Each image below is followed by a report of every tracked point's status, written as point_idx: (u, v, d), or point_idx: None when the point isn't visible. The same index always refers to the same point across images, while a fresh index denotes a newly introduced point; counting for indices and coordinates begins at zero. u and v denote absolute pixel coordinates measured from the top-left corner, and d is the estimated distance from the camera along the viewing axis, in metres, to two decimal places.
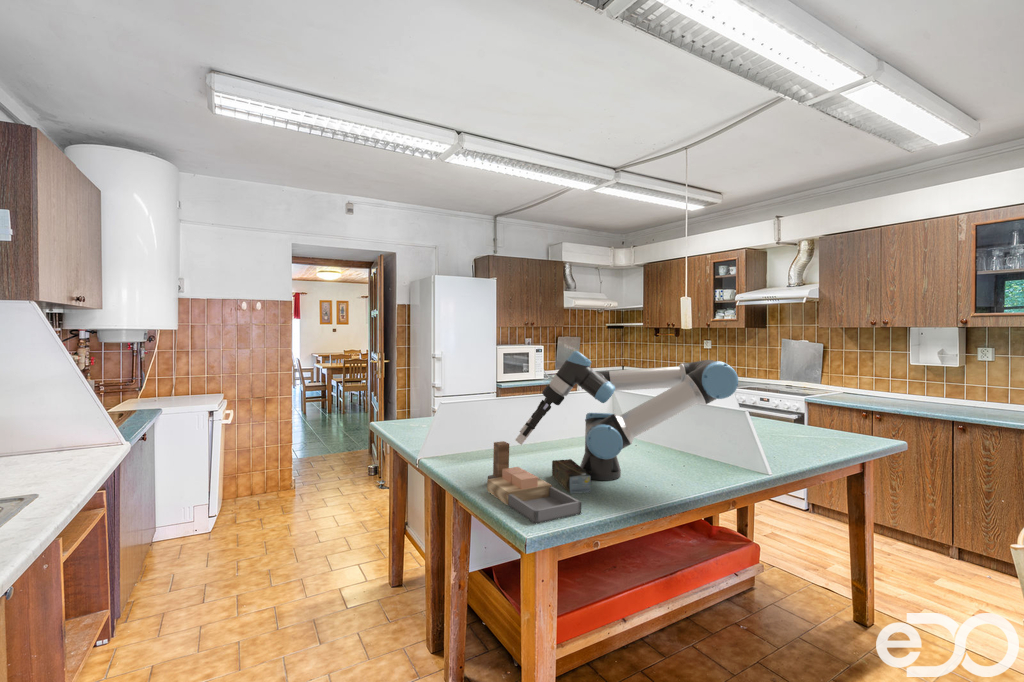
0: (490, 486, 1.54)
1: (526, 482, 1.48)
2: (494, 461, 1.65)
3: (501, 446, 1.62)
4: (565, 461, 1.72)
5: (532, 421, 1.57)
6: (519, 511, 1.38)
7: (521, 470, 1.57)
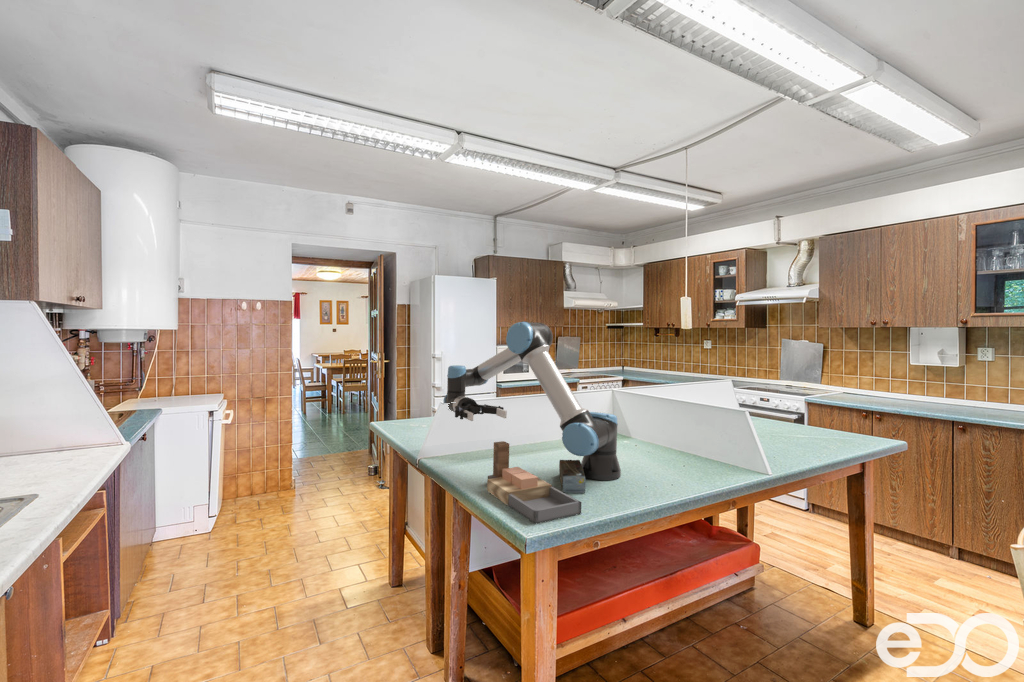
0: (490, 486, 1.54)
1: (526, 482, 1.48)
2: (494, 461, 1.65)
3: (501, 446, 1.62)
4: (571, 461, 1.72)
5: None
6: (519, 511, 1.38)
7: (521, 470, 1.57)
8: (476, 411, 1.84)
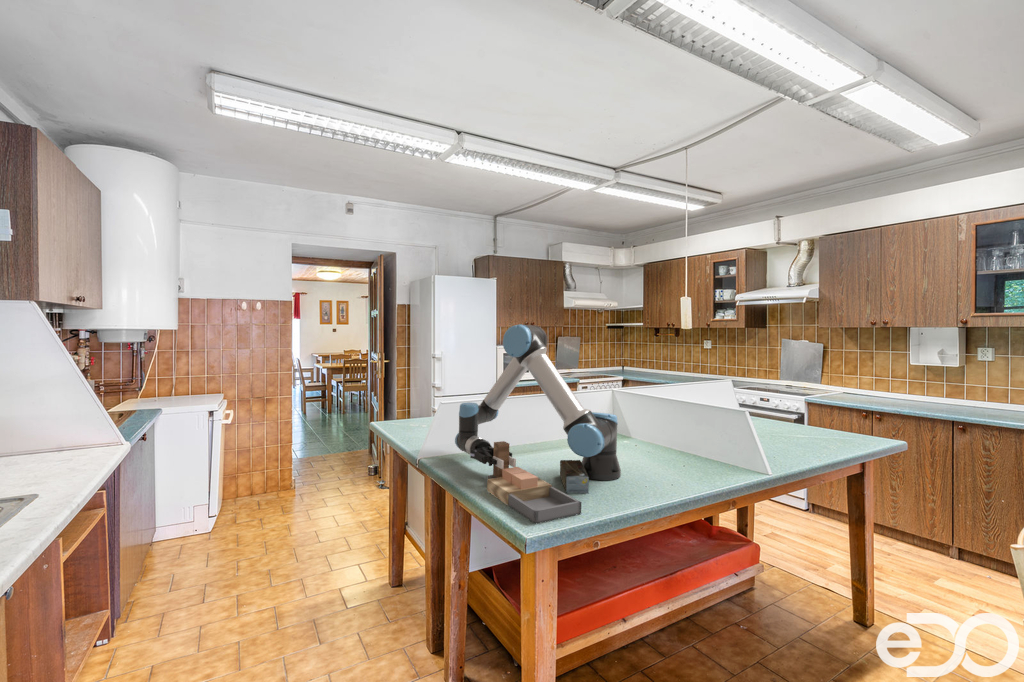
0: (490, 486, 1.54)
1: (526, 482, 1.48)
2: None
3: (501, 446, 1.62)
4: (572, 461, 1.71)
5: (481, 461, 1.65)
6: (519, 511, 1.38)
7: (521, 470, 1.57)
8: (491, 455, 1.73)
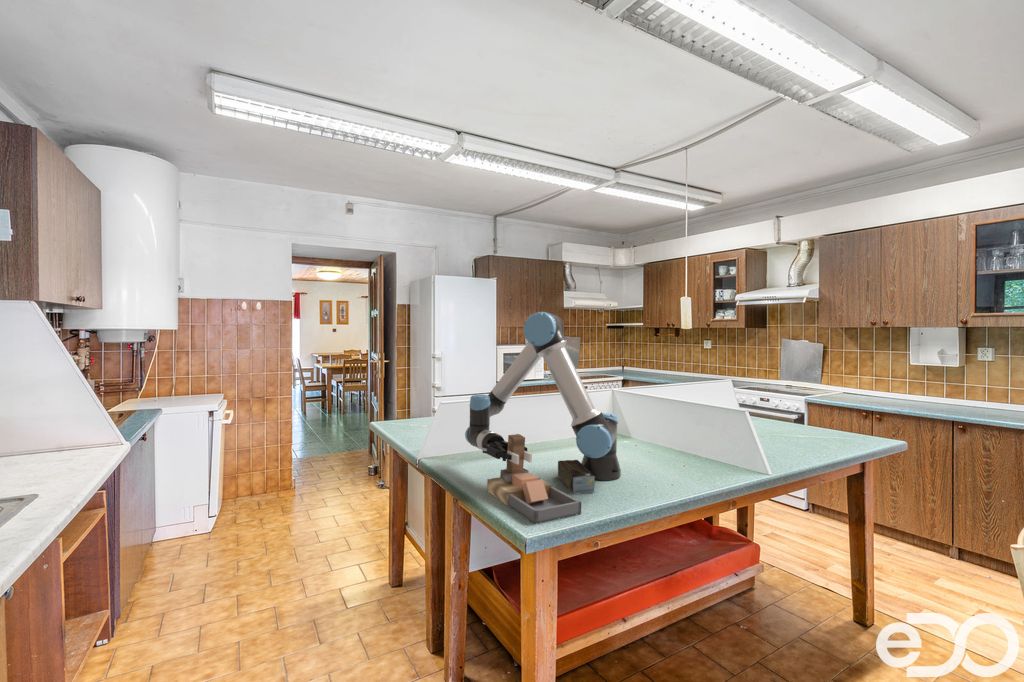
0: (490, 486, 1.54)
1: (535, 501, 1.43)
2: None
3: (516, 440, 1.51)
4: (571, 461, 1.71)
5: (495, 456, 1.54)
6: (519, 511, 1.38)
7: (532, 476, 1.50)
8: (504, 449, 1.62)
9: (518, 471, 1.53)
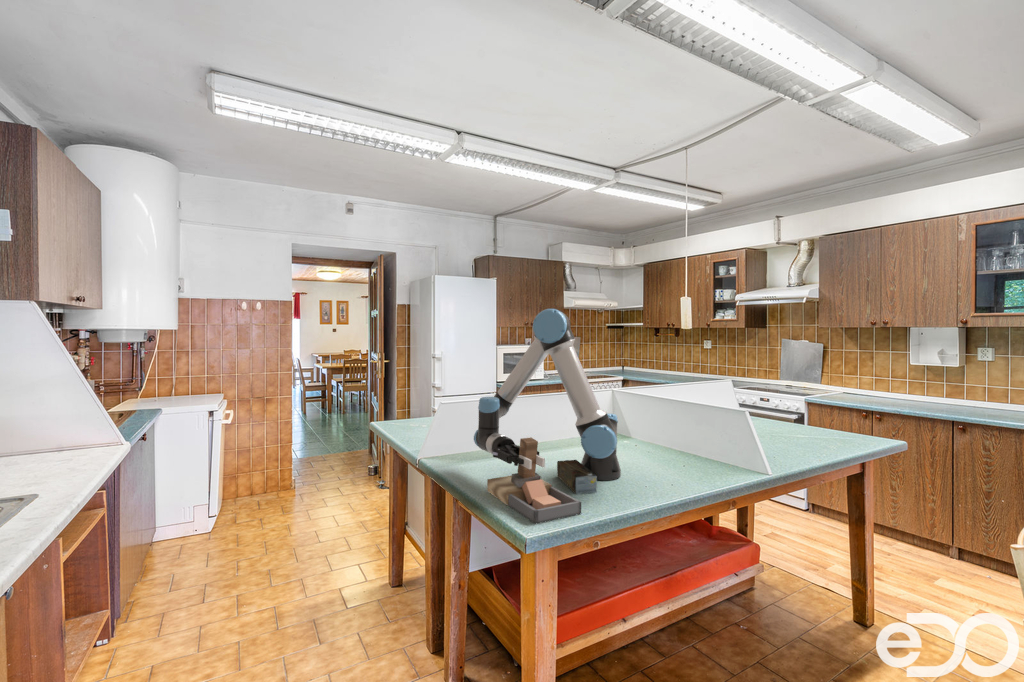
0: (490, 486, 1.54)
1: None
2: None
3: (529, 444, 1.46)
4: (570, 461, 1.71)
5: (506, 460, 1.49)
6: (519, 511, 1.38)
7: (543, 492, 1.45)
8: (515, 453, 1.57)
9: (530, 476, 1.48)
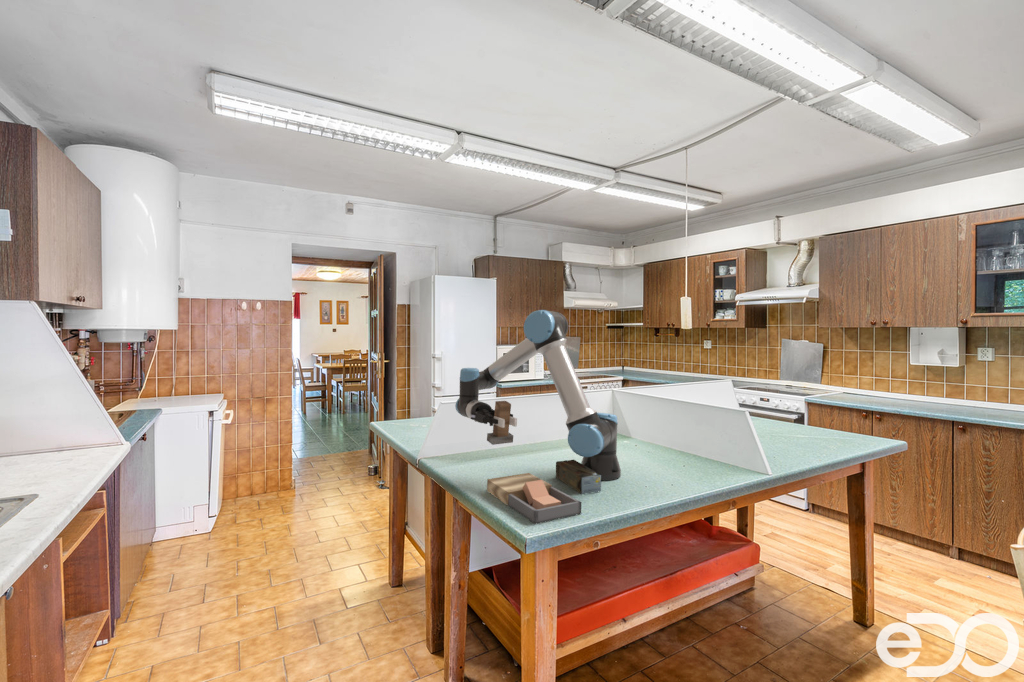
0: (490, 486, 1.54)
1: None
2: None
3: (503, 406, 1.61)
4: (569, 462, 1.71)
5: (482, 421, 1.65)
6: (519, 511, 1.38)
7: (544, 492, 1.45)
8: None
9: (503, 435, 1.64)
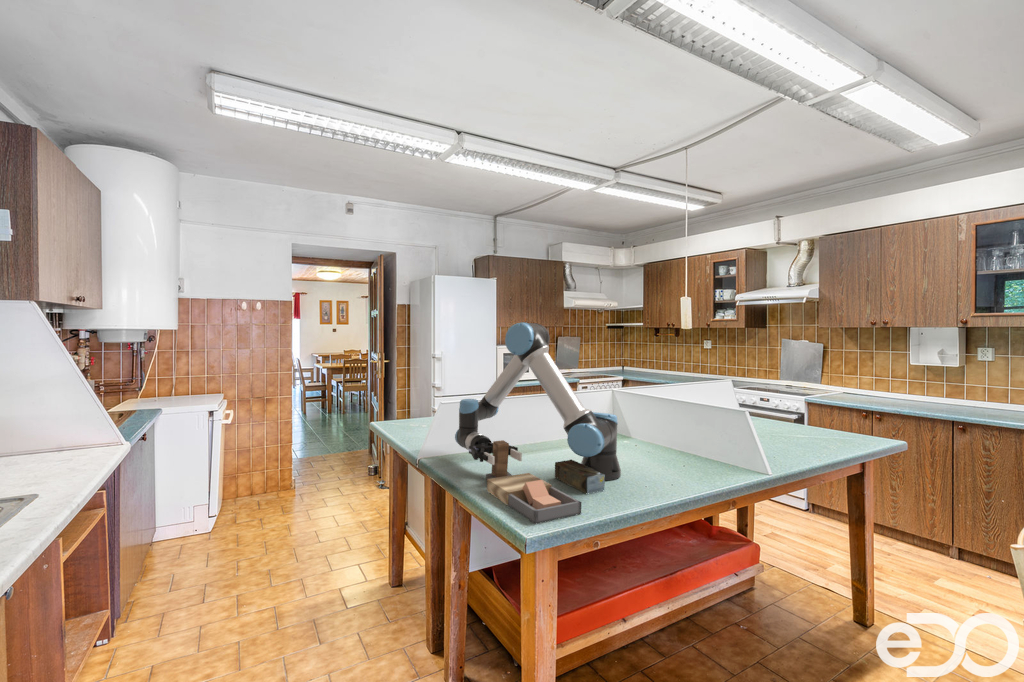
0: (490, 486, 1.54)
1: None
2: None
3: (500, 446, 1.63)
4: (569, 462, 1.71)
5: (473, 456, 1.65)
6: (519, 511, 1.38)
7: (544, 492, 1.45)
8: (491, 451, 1.73)
9: (502, 475, 1.64)
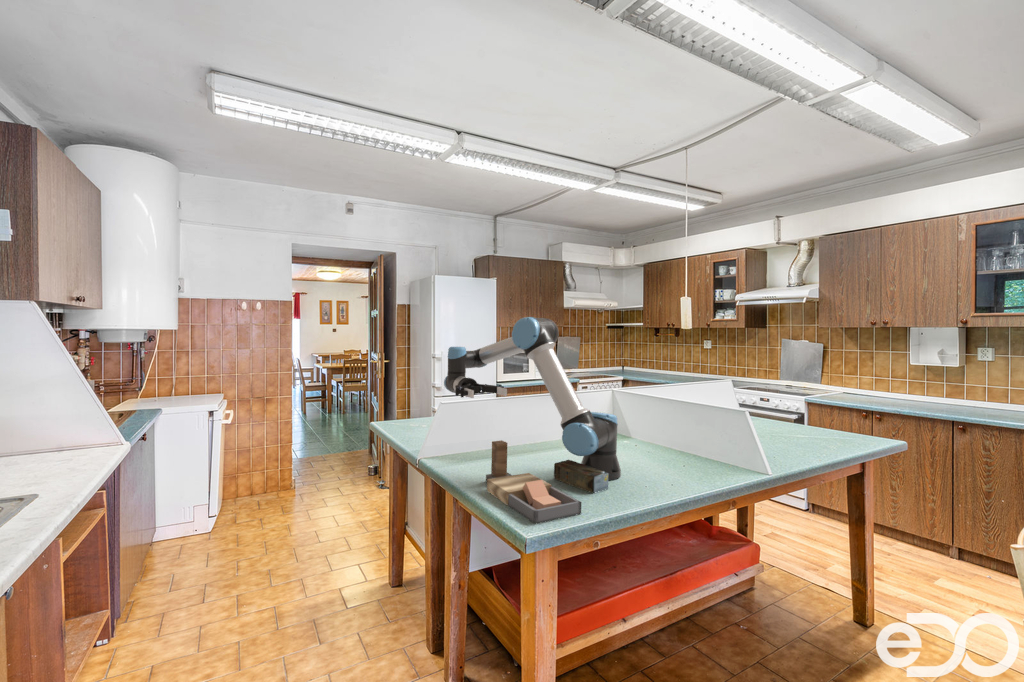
0: (490, 486, 1.54)
1: None
2: (492, 460, 1.66)
3: (499, 445, 1.63)
4: (568, 462, 1.70)
5: None
6: (519, 511, 1.38)
7: (544, 492, 1.45)
8: (476, 390, 1.83)
9: (502, 475, 1.64)
